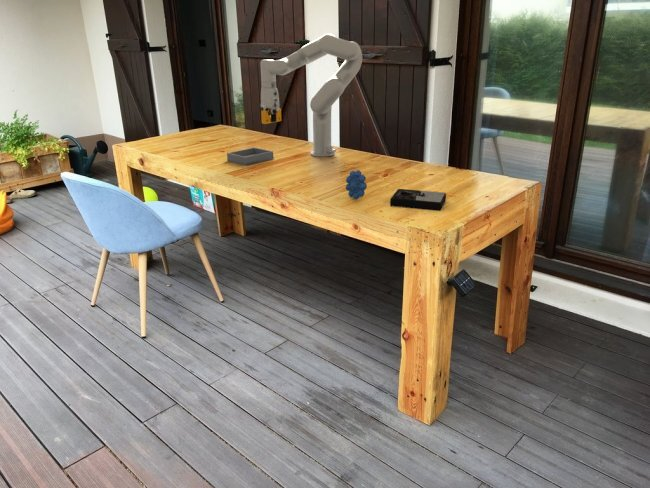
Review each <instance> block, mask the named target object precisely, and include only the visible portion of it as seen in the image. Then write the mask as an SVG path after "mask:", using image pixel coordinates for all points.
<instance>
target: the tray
mask: <svg viewBox="0 0 650 488" xmlns="http://www.w3.org/2000/svg"><path fill="white" fill-rule="evenodd" d="M226 160H227V162H230V163H235V164H239V165H242V166H250V165H254V164H258V163H262V162H267V161H271V160H274V151H273V150H269V149H265V148H259V147H256V146H255V147H250V148H244V149H240V150H239V149H238V150H235V151H230V152H227V153H226Z"/></svg>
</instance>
